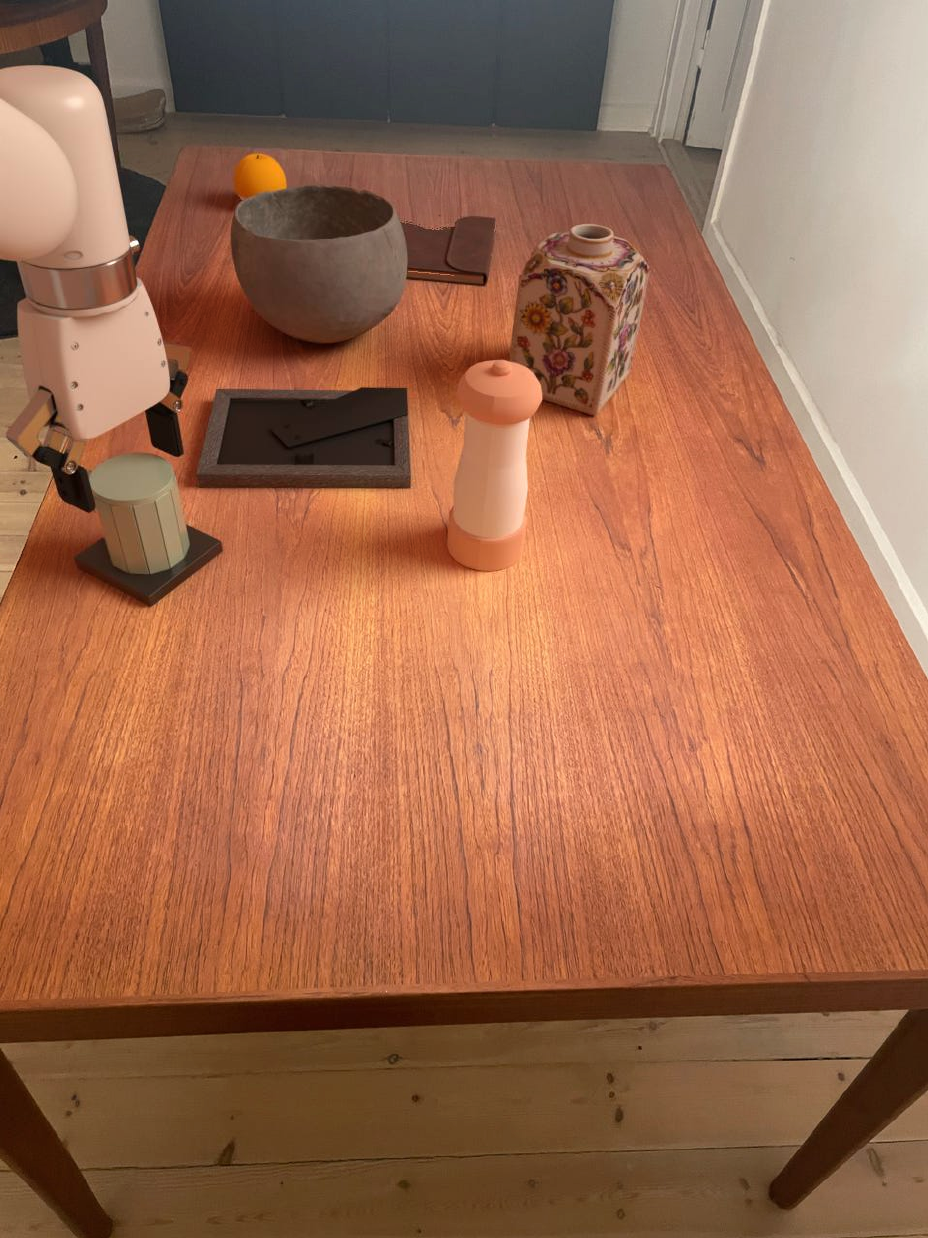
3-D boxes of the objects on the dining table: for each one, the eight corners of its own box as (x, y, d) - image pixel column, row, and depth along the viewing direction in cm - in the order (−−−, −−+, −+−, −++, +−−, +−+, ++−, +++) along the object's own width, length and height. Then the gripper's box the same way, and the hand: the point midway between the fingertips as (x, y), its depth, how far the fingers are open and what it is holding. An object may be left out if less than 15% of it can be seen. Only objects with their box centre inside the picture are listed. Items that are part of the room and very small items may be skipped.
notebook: (379, 276, 126) (379, 262, 125) (399, 221, 140) (399, 208, 139) (487, 286, 126) (488, 272, 124) (496, 230, 140) (497, 217, 138)
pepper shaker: (486, 512, 90) (503, 331, 76) (539, 549, 86) (566, 366, 73) (431, 541, 86) (438, 357, 73) (483, 582, 82) (501, 396, 69)
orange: (277, 193, 146) (272, 142, 140) (296, 210, 141) (292, 159, 136) (228, 200, 143) (222, 148, 137) (246, 218, 138) (240, 166, 133)
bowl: (431, 313, 119) (435, 194, 109) (363, 386, 105) (360, 258, 95) (292, 280, 124) (283, 163, 113) (209, 346, 110) (190, 219, 99)
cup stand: (151, 606, 78) (132, 531, 72) (76, 567, 81) (52, 491, 75) (223, 551, 83) (210, 476, 78) (151, 515, 86) (133, 441, 81)
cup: (149, 584, 78) (130, 510, 72) (68, 542, 81) (44, 468, 76) (204, 542, 82) (190, 469, 77) (125, 504, 86) (107, 431, 80)
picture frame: (406, 403, 103) (218, 401, 101) (406, 387, 102) (215, 385, 100) (410, 487, 92) (198, 487, 90) (410, 471, 90) (195, 470, 89)
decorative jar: (596, 419, 103) (624, 263, 90) (504, 390, 106) (518, 236, 94) (631, 374, 111) (662, 224, 98) (544, 348, 114) (563, 200, 101)
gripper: (132, 225, 70) (167, 418, 82) (-67, 300, 59) (7, 511, 71) (206, 250, 68) (231, 446, 80) (12, 334, 57) (75, 547, 68)
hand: (125, 476), depth 75 cm, fingers open, 9 cm apart
